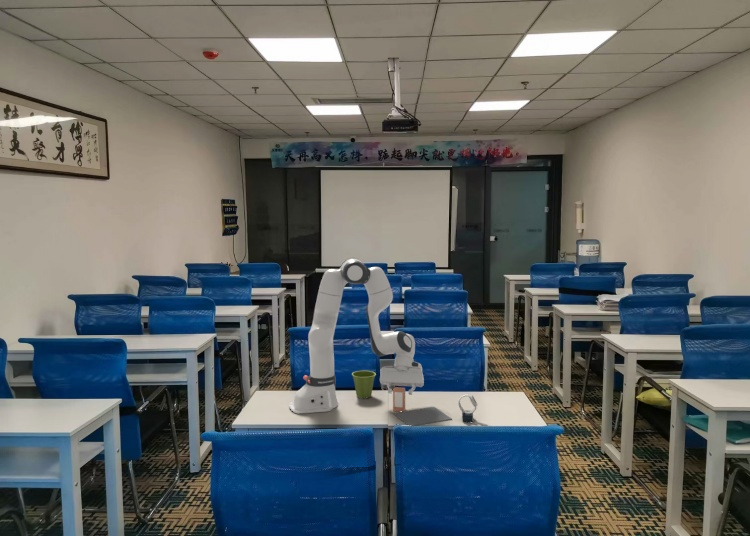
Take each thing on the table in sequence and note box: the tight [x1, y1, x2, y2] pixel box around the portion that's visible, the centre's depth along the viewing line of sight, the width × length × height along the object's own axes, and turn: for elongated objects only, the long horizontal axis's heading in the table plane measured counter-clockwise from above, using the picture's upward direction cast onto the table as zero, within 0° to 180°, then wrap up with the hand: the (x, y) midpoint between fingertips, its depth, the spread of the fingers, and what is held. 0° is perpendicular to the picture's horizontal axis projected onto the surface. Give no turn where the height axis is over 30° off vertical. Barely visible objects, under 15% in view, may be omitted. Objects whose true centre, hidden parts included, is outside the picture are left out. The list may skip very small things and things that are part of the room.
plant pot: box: [351, 370, 377, 399], centre depth 245 cm, size 12×12×11 cm
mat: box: [393, 406, 452, 426], centre depth 218 cm, size 20×16×1 cm
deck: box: [392, 386, 406, 412], centre depth 225 cm, size 3×5×10 cm, turn 77°
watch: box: [457, 393, 478, 423], centre depth 213 cm, size 6×8×11 cm
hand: (399, 393), depth 226 cm, fingers open, 8 cm apart
